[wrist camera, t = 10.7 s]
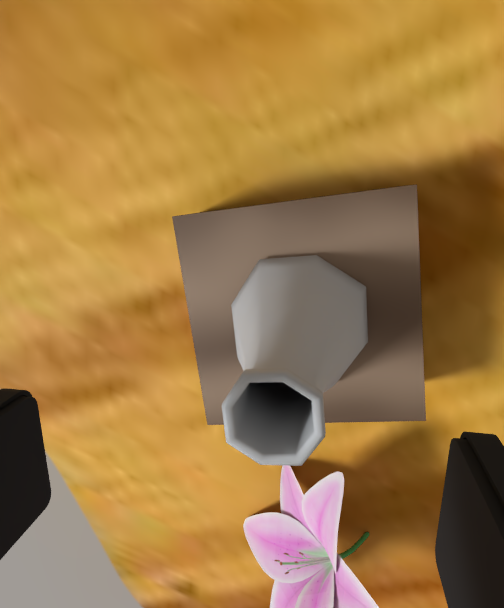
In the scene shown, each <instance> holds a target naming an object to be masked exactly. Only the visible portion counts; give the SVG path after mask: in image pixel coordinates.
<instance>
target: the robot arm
mask: <svg viewBox="0 0 504 608" xmlns="http://www.w3.org/2000/svg"><path fill="white" fill-rule="evenodd" d="M50 497H51V488H50V481H49V474H48V468H47V462H46V455H45V449H44V443H43V436H42V430H41V423H40V417H39V411H38V404H37V401H36V399H35V398H33V397H32V395H31V394H30V392H28V391H26V390H16V389H1V390H0V560H1V558H2V557H3V556H4V555H5V554H6V553H7V552H8V550H9V549H10V548H11V547H12V546H13V545H14V543H15V542H16V541H17V540H18V539H19V538H20V537H21V536H22V535H23V533H24V532H25V531H26V530H27V529H28V528H29V527H30V526H31V524H32V523H33V522H34V521H35V520H36V519H37V518H38V516H39V515H40V514H41V513H42V512H43V510H45V508H46V507H47V505H48V503H49V501H50ZM435 554H436V563H437V568H438V571H439V575H440V579H441V582H442V586H443V590H444V593H445V597H446V601H447V604H448V608H504V446H503V445H502V443H501V441H500V440H499V438H498V437H497V436H496V435H493V434H484V433H473V432H463V433H462V435H461V437H460V439H459V438H453V439H452V440H451V444H450V450H449V457H448V463H447V470H446V477H445V484H444V491H443V497H442V504H441V511H440V518H439V525H438V531H437V538H436V546H435Z"/></svg>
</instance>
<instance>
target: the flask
mask: <svg viewBox="0 0 504 608" xmlns="http://www.w3.org/2000/svg"><path fill="white" fill-rule="evenodd" d="M231 307H232V316H233V324H234V333H235V342H236V350H237V357H238V360H239V362H240V364H241V366H242V369H243V373H242V374H241V376H240V377H239V379H238V380H237V382H236V383H235V385H234V386H233V388H232V389H231V391H230V392H229V394H228V395H227V397H226V398H225V400H224V401H223V403H222V413H223V421H224V428H225V436H226V443H228V444H229V445H231V446H233V447H234V448H236V449H237V450H239V451H240V452H242V453H243V454H245V455H246V456H248V457H250V458H251V459H253V460H254V461H256V462H257V463H259V464H260V465H290V466H302V465H303V463H304V462H305V461H306V460H307V458H308V457H309V456H310V455H311V453H312V452H313V451H314V450H315V448H316V447H317V446H318V445H319V443H320V442H321V441H322V440H323V438H324V437H325V418H324V402H323V393H324V392H325V391H327V390H328V389H330V388H331V387H333V386H334V385H335V384H336V383H337V382H338V380H339V379H340V378H341V376H342V375H343V374H344V372H345V371H346V370H347V369H348V367H349V366H350V365H351V363H352V362H353V361H354V359H355V358H356V357H357V356H358V354H359V353H360V352H361V350H362V349H363V348H364V346H365V345H366V344H367V343H368V327H367V298H366V286H364V285H363V284H361V283H360V282H358V281H356V280H355V279H353V278H352V277H350V276H349V275H347V274H345V273H344V272H342V271H341V270H339V269H338V268H336V267H334V266H333V265H331V264H330V263H328V262H327V261H325V260H323V259H322V258H320V257H319V256H317V255H312V256H298V257H284V258H270V259H259V260H258V262H257V264H256V265H255V267H254V269H253V270H252V272H251V273H250V275H249V277H248V278H247V280H246V282H245V283H244V285H243V287H242V288H241V290H240V291H239V293H238V295H237V296H236V298H235V300H234V301H233V303H232V304H231Z"/></svg>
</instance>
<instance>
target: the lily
mask: <svg viewBox="0 0 504 608" xmlns="http://www.w3.org/2000/svg"><path fill="white" fill-rule="evenodd" d="M343 491H344V477H343V473H341V472H338V471H337V472H335V473H332V474H330V475H328V476H326V477H325V478H323V479H322V480H320V481H319V482H318V483H316V484H315V485H314V486H312V487H311V488H310V489H309V490H308V491H307V492H306V493H305V495H303V492H302V490H301V488H300V486H299V484H298V481H297V479H296V477H295V475H294V473H293V471H292V468H291V466H290V465H282V471H281V482H280V506H281V513H282V514H281V513H276V512H268V513H261V514H257V515H253V516H250V517H248V518H247V519H245V522H244V525H243V526H244V532H245V535H246V538H247V541H248V543H249V546H250V548H251V550H252V552H253V554H254V556H255V558H256V560H257V561H258V563H259V564H260V566H261V567H262V569H263V570H264V571H265V572H266V573H267V574H268V575H269V576H270V577H271V578H272V579H274V580H275V581H274V586H273V590H272V596H271V603H270V608H379V607H378V606H377V604H376V603H375V602H374V600H373V599H372V597H371V596H370V595H369V593H368V592H367V591H366V589H365V588H364V587H363V585H362V584H361V583H360V581H359V580H358V579H357V578H356V576H355V575H354V574H353V572H352V571H351V570H350V569H349V567H348V566H347V565H346V564H345V562H344V561H343V560H342V559H343V558H345V557H347V556H348V555H350V554H351V553H353V552H354V551H355V550H356V549H357V548H358V547H359V546H360V545H361V544H362V543H363V542H364V541H365V540H366V538H367V537H368V536H369V532H366V533H365V534H364V535H363V536H362V537H361V538H360V539H359V540H358V541H357V542H356V543H355V544H354V545H353V546H352V547H351V548H350V549H348V550H347V551H345V552H343V553H341V554H338V553H337V537H338V527H339V520H340V513H341V506H342V499H343Z"/></svg>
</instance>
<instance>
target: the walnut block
mask: <svg viewBox="0 0 504 608" xmlns="http://www.w3.org/2000/svg"><path fill="white" fill-rule="evenodd" d="M172 218H173V224H174V230H175V236H176V241H177V247H178V253H179V259H180V265H181V271H182V277H183V283H184V289H185V295H186V300H187V306H188V312H189V318H190V324H191V330H192V336H193V342H194V348H195V354H196V359H197V365H198V371H199V377H200V383H201V389H202V395H203V401H204V407H205V413H206V418H207V424H208V425H224V421H223V413H222V403H223V401H224V400H225V398H226V397H227V395H228V394H229V392H230V391H231V389H232V388H233V386H234V385H235V383H236V382H237V380H238V379H239V377H240V376H241V374H242V373H243V369H242V366H241V364H240V362H239V360H238V357H237V350H236V342H235V333H234V324H233V316H232V307H231V304H232V303H233V301H234V300H235V298H236V296H237V295H238V293H239V291H240V290H241V288H242V287H243V285H244V283H245V282H246V280H247V278H248V277H249V275H250V273H251V272H252V270H253V269H254V267H255V265H256V264H257V262H258V260H259V259H270V258H284V257H298V256H312V255H317V256H319V257H320V258H322V259H323V260H325V261H327V262H328V263H330V264H331V265H333V266H334V267H336V268H338V269H339V270H341V271H342V272H344V273H345V274H347V275H349V276H350V277H352V278H353V279H355V280H356V281H358V282H360V283H361V284H363V285H364V286H366V298H367V327H368V343H367V344H366V345H365V346H364V348H363V349H362V350H361V352H360V353H359V354H358V356H357V357H356V358H355V359H354V361H353V362H352V363H351V365H350V366H349V367H348V369H347V370H346V371H345V372H344V374H343V375H342V376H341V378H340V379H339V380H338V382H337V383H336V384H335V385H334V386H333V387H331V388H330V389H328V390H327V391H325V392H324V393H323V402H324V418H325V423H332V422H385V421H426V412H425V386H424V360H423V334H422V307H421V281H420V255H419V228H418V202H417V185H407V186H398V187H390V188H382V189H375V190H367V191H360V192H352V193H345V194H337V195H329V196H322V197H314V198H307V199H299V200H291V201H284V202H276V203H269V204H261V205H253V206H246V207H238V208H231V209H223V210H215V211H208V212H200V213H194V214H187V215H180V216H174V217H172Z"/></svg>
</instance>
